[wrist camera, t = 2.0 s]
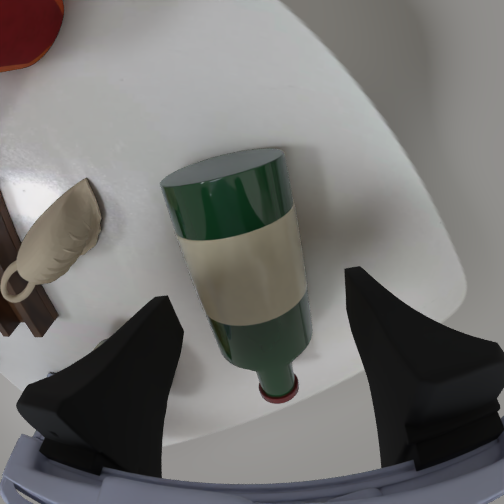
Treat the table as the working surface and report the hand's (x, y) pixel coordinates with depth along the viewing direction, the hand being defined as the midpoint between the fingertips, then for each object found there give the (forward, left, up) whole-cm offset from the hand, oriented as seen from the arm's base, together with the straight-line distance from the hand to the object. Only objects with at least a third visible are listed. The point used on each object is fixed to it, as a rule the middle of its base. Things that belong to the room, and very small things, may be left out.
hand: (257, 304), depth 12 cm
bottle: (-2, +1, -4) cm, 4 cm away
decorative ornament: (+3, +13, -7) cm, 15 cm away
